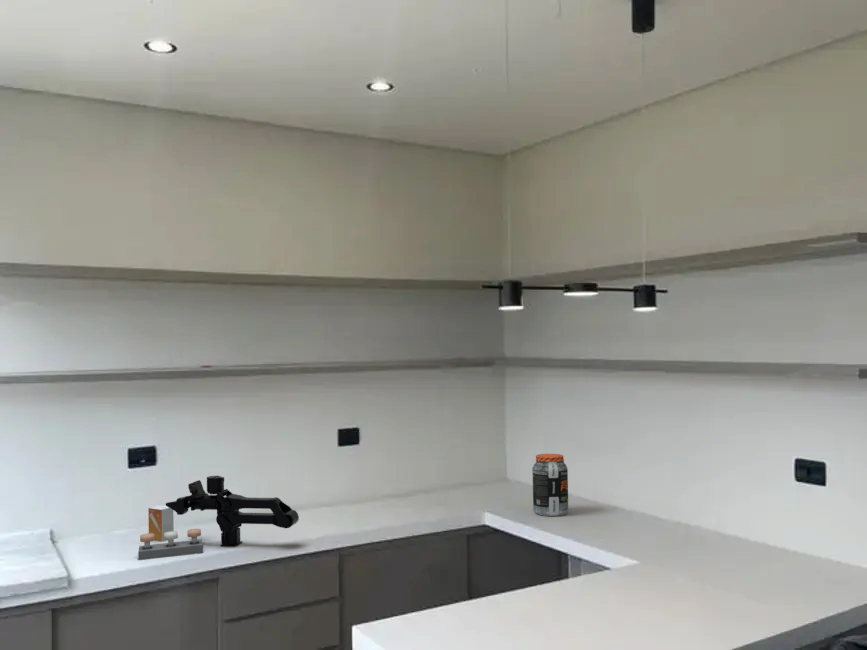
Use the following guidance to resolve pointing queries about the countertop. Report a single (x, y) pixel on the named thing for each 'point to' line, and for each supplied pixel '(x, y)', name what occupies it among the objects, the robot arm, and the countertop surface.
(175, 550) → the knob strip
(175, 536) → the knob middle
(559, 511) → the supplement tub
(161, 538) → the small box
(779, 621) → the countertop surface
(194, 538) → the knob
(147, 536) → the knob
